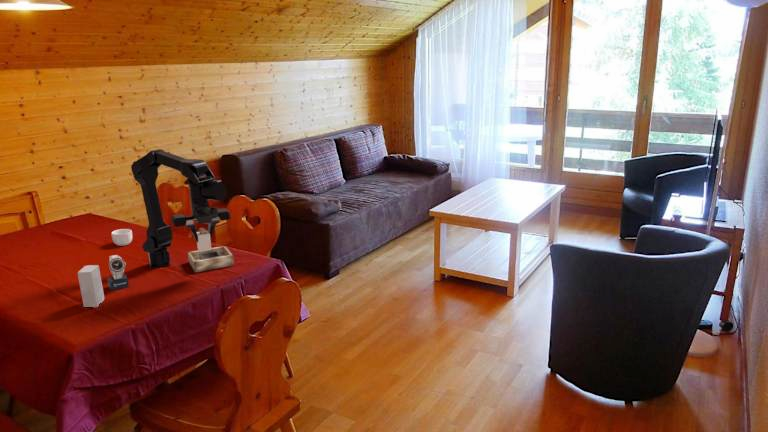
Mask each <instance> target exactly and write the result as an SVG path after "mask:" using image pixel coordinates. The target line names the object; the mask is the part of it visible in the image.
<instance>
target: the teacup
mask: <svg viewBox="0 0 768 432" xmlns="http://www.w3.org/2000/svg"><path fill="white" fill-rule="evenodd" d="M111 239H112V242H113V244H115V245H117V246H118V247H119V246H120V247H121V246H128V245H129V244H130V243H131V242H132V241H133V231H132V229H129V228H120V229H115V230H113V231H112V232H111Z"/></svg>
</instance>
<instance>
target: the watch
mask: <svg viewBox="0 0 768 432" xmlns="http://www.w3.org/2000/svg"><path fill="white" fill-rule="evenodd" d="M108 258H109V260H108V261H109V262H108V267H109V270H110V273H111V275H112V276H110V277H107V278H106V279H107V280H106V281H107V284H108V285H107V286H108V288H109V289H110V291H112V290H113V291H116V290H120V289H125V288H129V287H130V285H129V278H128V277H127V275H126V274H125V273H124V272H125V269H126V268H125V267H126V265H127V263H126V262H125V261H124V260H123V259H122V257H121V256H119V255H118V254H115V255H109V256H108Z"/></svg>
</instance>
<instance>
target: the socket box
mask: <svg viewBox="0 0 768 432" xmlns="http://www.w3.org/2000/svg"><path fill="white" fill-rule="evenodd" d="M211 249H212V250H209V251H203V252H199V250H198V249H197V250H192V251H188V252H187V258H188V260H187V261H188V263H189V265H190V268H191V269H192V270H193V272H194V273H200V272H206V271H211V270H217V269H222V268H227V267H228V268H229V267H233V266H235V262H234V254H233V253H232V252H231V251H230V250H229V248H228V247H227V246H226V245H223V246H217V247H211Z"/></svg>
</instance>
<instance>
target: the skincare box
mask: <svg viewBox="0 0 768 432" xmlns="http://www.w3.org/2000/svg"><path fill="white" fill-rule="evenodd" d="M77 277H78V278H77V279H78V282H79V283H78V284H79V288H80V294H81V299H82V304H83V305H82V306H83V308H84V307H93V308H99V306H100V305H101V304H102V303H103V301H104V300H105V294H104V288H103V283H102V277H101V271H100V266H99V264H93V265H91V264H90V265H84V266H83V267H82V268H81V269H80V270H79V271H78V272H77ZM100 303H101V304H100ZM99 304H100V305H99Z"/></svg>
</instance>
